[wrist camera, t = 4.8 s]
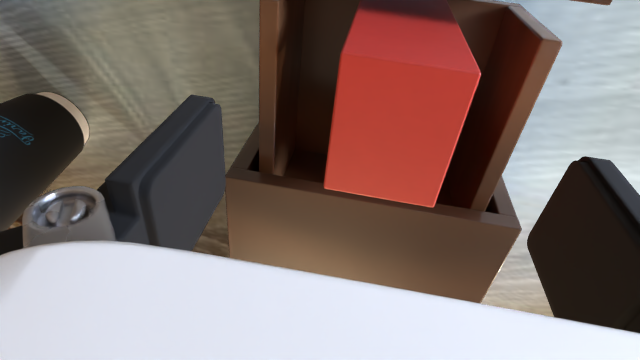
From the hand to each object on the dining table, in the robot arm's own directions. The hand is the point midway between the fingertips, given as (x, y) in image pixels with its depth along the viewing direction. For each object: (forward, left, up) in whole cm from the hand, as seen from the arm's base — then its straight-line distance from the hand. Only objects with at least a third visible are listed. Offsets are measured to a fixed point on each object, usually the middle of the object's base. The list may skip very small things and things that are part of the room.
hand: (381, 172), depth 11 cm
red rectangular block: (0, 0, -13) cm, 13 cm away
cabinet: (+9, +9, -15) cm, 20 cm away
